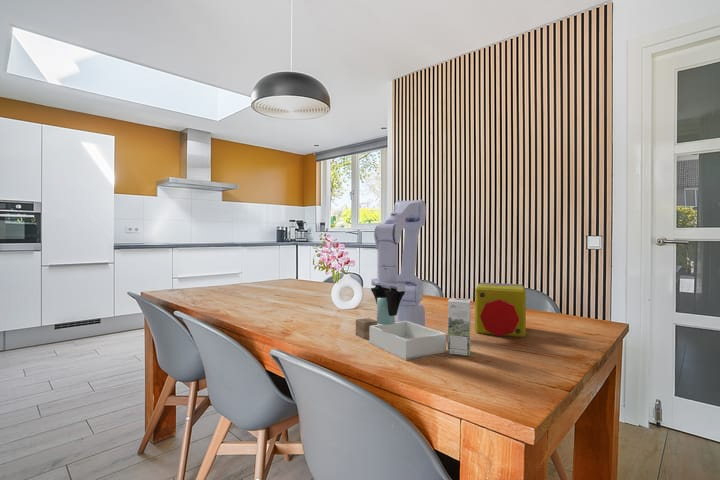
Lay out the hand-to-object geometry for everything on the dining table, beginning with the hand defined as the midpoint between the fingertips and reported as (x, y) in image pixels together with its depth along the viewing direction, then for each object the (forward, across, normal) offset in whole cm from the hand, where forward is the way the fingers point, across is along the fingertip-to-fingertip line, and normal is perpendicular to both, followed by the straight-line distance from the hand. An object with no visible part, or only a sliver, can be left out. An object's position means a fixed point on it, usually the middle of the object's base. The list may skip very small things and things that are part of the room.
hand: (387, 313), depth 104 cm
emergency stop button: (+10, +5, +40) cm, 42 cm away
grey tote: (+9, +3, +4) cm, 11 cm away
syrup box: (+10, +14, +14) cm, 22 cm away
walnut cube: (+10, -13, +1) cm, 16 cm away
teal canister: (+2, 0, 0) cm, 3 cm away
